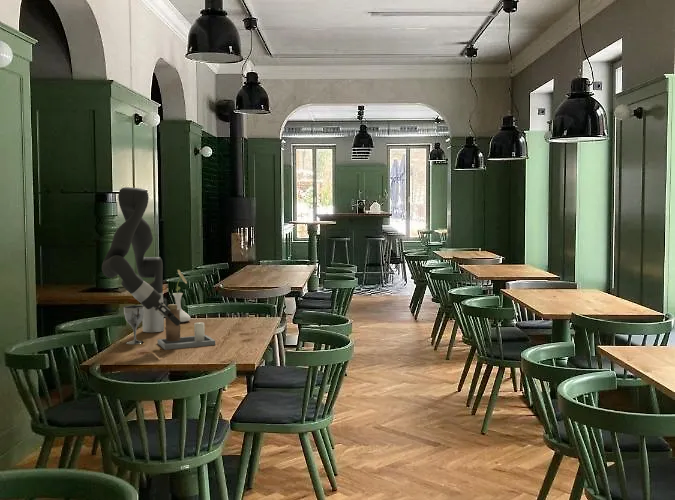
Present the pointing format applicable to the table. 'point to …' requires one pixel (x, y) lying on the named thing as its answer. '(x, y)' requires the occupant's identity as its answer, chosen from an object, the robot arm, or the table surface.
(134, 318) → the wine glass
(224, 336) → the table surface
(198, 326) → the salt shaker
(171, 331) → the brown bottle
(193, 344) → the condiment tray
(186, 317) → the flower in vase
